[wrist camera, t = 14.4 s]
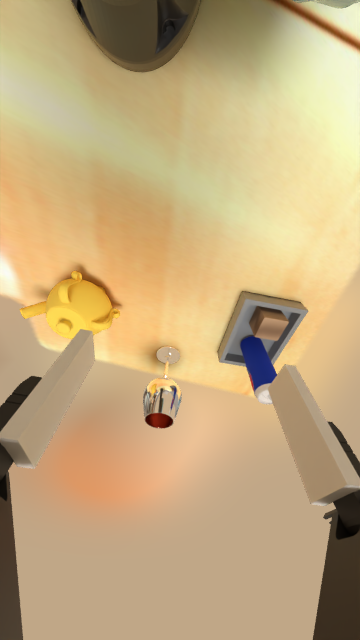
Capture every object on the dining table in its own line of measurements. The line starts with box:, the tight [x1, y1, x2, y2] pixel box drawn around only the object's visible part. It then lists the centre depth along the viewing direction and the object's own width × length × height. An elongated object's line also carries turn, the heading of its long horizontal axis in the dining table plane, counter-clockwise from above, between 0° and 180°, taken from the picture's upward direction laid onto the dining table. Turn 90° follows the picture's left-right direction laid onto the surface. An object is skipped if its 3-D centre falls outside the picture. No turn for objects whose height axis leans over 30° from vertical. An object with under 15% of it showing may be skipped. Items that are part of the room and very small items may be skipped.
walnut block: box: [249, 306, 289, 341], centre depth 42 cm, size 5×5×5 cm
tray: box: [218, 291, 308, 367], centre depth 46 cm, size 18×13×4 cm
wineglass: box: [143, 346, 181, 429], centre depth 46 cm, size 8×8×18 cm
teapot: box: [20, 271, 120, 339], centre depth 40 cm, size 14×14×11 cm
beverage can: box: [240, 336, 277, 404], centre depth 42 cm, size 5×5×15 cm
